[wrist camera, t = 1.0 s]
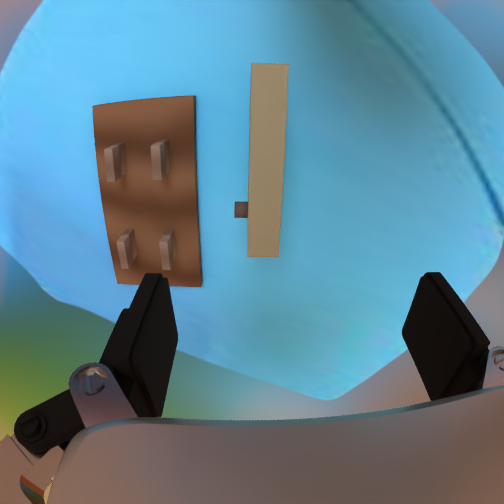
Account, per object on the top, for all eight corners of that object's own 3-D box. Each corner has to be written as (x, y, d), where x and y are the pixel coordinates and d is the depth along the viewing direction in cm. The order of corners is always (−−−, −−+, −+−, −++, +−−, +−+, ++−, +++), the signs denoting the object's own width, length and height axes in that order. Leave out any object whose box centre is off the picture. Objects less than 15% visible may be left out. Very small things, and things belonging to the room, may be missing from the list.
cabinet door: (239, 74, 26) (233, 62, 15) (273, 74, 26) (288, 64, 15) (237, 196, 31) (232, 256, 21) (268, 196, 31) (278, 257, 21)
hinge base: (97, 104, 26) (77, 108, 23) (195, 95, 26) (187, 96, 23) (120, 278, 36) (108, 299, 32) (202, 280, 36) (197, 303, 32)
